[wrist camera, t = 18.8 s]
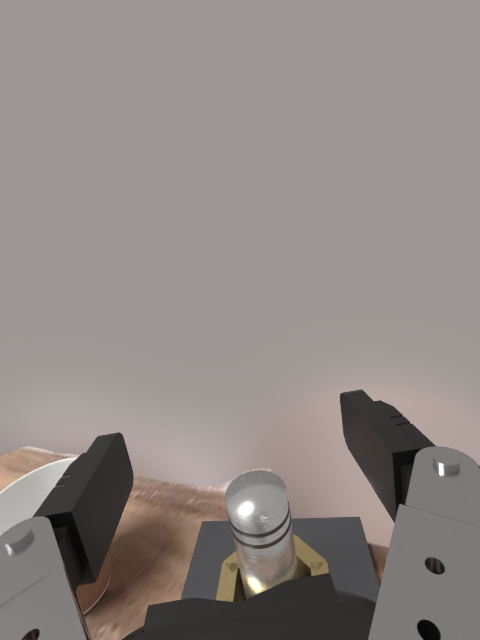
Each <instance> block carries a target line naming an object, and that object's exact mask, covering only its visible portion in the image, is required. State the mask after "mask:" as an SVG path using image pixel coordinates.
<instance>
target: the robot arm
mask: <svg viewBox="0 0 480 640" xmlns="http://www.w3.org/2000/svg"><path fill="white" fill-rule="evenodd" d="M340 404H341V413H342V424H343V433H344V437H345V441H346V444H347V446H348V449H349V450H350V452H351V454H352V455H353V457H354V458H355V460H356V462H357V463H358V465H359V467H360V468H361V470H362V471H363V473H364V475H365V476H366V477H367V479H368V481H369V483H370V484H371V486H372V487H373V489H374V491H375V492H376V494H377V495H378V497H379V499H380V500H381V502H382V504H383V505H384V507H385V508H386V510H387V512H388V513H389V515H390V516H391V518H392V520H393V521H394V523H395V525H394V529H393V533H392V538H391V542H390V546H389V551H388V555H387V559H386V564H385V568H384V572H383V577H382V581H381V586H380V590H379V594H378V599H377V603H376V602H374V601H372V600H370V599H368V598H365V597H363V596H360V595H357V594H354V593H350V592H346V591H339V590H335V587H334V583H333V580H332V577H331V574H330V573H326V574H320V575H315V576H309V577H303V578H298V579H292V580H287V581H284V582H282V583H280V584H278V585H276V586H274V587H272V588H269V589H267V590H265V591H263V592H261V593H259V594H257V595H255V596H253V597H251V598H249V599H247V600H245V601H242V602H229V601H220V600H211V599H202V598H188V599H182V600H176V601H171V602H165V603H160V604H154V605H149V606H148V609H147V614H146V619H145V623H144V626H142V627H140V628H139V629H137V630H135V631H134V632H132V633H130V634H129V635H127V636H126V637H125V638H123V639H122V640H480V466H478V464H477V463H476V462H475V461H474V460H473V459H472V458H471V457H469V456H468V455H466V454H464V453H463V452H460V451H458V450H455V449H451V448H447V447H438V446H435V445H434V444H433V443H432V442H431V441H430V440H429V439H428V438H427V437H426V436H425V435H423V434H422V433H421V432H420V431H419V430H418V429H417V428H416V427H415V426H414V425H413V424H410V422H409V421H408V420H407V419H406V418H405V417H403V416H402V414H401V413H400V412H399V411H398V410H397V409H395V407H393V406H391V405H389V404H387V403H385V402H382V401H373V400H372V399H371V398H370V397H369V396H368V395H367V394H366V393H365V392H364V391H363V390H356V391H350V392H344V393H341V394H340ZM132 486H133V470H132V466H131V463H130V459H129V455H128V452H127V448H126V445H125V441H124V438H123V435H122V434H121V433H113V434H108V435H102V436H98V437H97V438H96V439H95V441H94V442H93V443H92V445H91V447H90V448H89V450H88V451H87V452H86V453H83V454H82V455H80V456H79V457H78V458H77V459H76V460H74V461H73V462H72V463H71V464H70V465H69V467H68V468H67V469H66V471H65V472H64V473H63V475H62V478H60V479H59V480H58V482H57V483H56V485H55V487H54V488H53V489H52V490H51V492H50V493H49V494H48V496H47V497H46V499H45V500H44V501H43V503H42V504H41V506H40V507H39V508H38V510H37V511H36V513H35V514H34V515H33V517H32V518H29V519H26V520H24V521H22V522H20V523H18V524H16V525H14V526H13V527H11V528H10V529H8V530H7V531H5V532H4V533H3V534H2V535H1V536H0V640H91V637H90V633H89V630H88V627H87V624H86V621H85V618H84V615H83V612H82V609H81V606H80V603H79V600H78V597H77V594H76V590H77V588H78V586H80V585H85V584H91V583H96V581H97V578H98V576H99V573H100V570H101V568H102V565H103V563H104V560H105V557H106V555H107V552H108V550H109V547H110V544H111V542H112V539H113V537H114V534H115V531H116V529H117V526H118V524H119V521H120V518H121V516H122V513H123V511H124V508H125V505H126V503H127V500H128V498H129V495H130V492H131V490H132Z"/></svg>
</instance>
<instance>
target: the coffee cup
mask: <svg viewBox="0 0 480 640" xmlns="http://www.w3.org/2000/svg"><path fill="white" fill-rule="evenodd" d="M77 458H78V457H75V458H68V459H63V460H59V461H56V462H53V463H50V464H47V465H45V466H42V467H40V468H38V469H36V470H34V471H32V472H30V473H28V474H26V475H24V476H23V477H21V478H19V479H18V480H16V481H15V482H13V483H12V484H10V485H9V486H7V487H6V488H5V489H4V490H2V491H1V492H0V536H1V535H2V534H3V533H4V532H5V531H7V530H8V529H10V528H11V527H13V526H14V525H16V524H18V523H20V522H22V521H24V520H26V519H29V518H32V517H33V515H34V514H35V513H36V511H37V510H38V508H39V507H40V506H41V504H42V503H43V501H44V500H45V499H46V497H47V496H48V494H49V493H50V492H51V490H52V489H53V488H54V487H55V485H56V483H57V482H58V480H59V479H60V478H62V475H63V473H64V472H65V471H66V469H67V468H68V467H69V465H70V464H71V463H72V462H73V461H74V460H76V459H77ZM111 562H112V560H111V553H110V547H109V550H108V552H107V555H106V557H105V560H104V563H103V565H102V568H101V570H100V573H99V576H98V578H97V581H96V583H91V584H85V585H80V586H78V588H77V590H76V594H77V597H78V600H79V603H80V606H81V609H82V612H83V615H84V614H86V613H87V612H88V611H89V610H90V609H91V608H92V607H93V606H94V605H95V604H96V603H97V602H98V601H99V600H100V598H101V597H102V596H103V594H104V593H105V591H106V589H107V587H108V585H109V583H110V579H111V573H112V568H111Z"/></svg>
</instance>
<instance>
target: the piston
mask: <svg viewBox="0 0 480 640" xmlns="http://www.w3.org/2000/svg"><path fill="white" fill-rule="evenodd" d="M225 500H226V505H227V509H228V518H229V522H230V527H231V532H232V534H233V539H234V543H235V548H236V553H237V558H238V563H239V568H240V572H241V577H242V582H243V587H244V592H245V597H246V600H247V599H249V598H251V597H253V596H255V595H257V594H259V593H261V592H263V591H265V590H267V589H269V588H272V587H274V586H276V585H278V584H280V583H282V582H284V581H287V580H292V579H298V578H300V577H299V570H298V564H297V557H296V551H295V545H294V538H293V532H292V525H291V515H290V509H289V502H288V499H287V493H286V487H285V484H284V482H283V481H282V479H281V478H280V477H279V476H277V475H276V474H274V473H272V472H268V471H262V470H257V471H250V472H247V473H244V474H242V475H240V476H238V477H237V478H236V479H234V480H233V481H232V482H231V483H230V485H229V486H228V488H227V490H226V494H225Z"/></svg>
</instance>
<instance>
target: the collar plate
mask: <svg viewBox="0 0 480 640" xmlns="http://www.w3.org/2000/svg"><path fill="white" fill-rule="evenodd" d="M291 525H292V532H293V538H294V545H295V551H296V557H297V564H298V570H299V577H300V578H303V577H309V576H315V575H320V574H326V573H330V574H331V577H332V580H333V583H334V587H335V590H339V591H346V592H350V593H354V594H357V595H360V596H363V597H365V598H368V599H370V600H372V601H374V602H376V603H377V599H378V594H379V590H380V587H379V583H378V580H377V576H376V573H375V569H374V566H373V562H372V559H371V555H370V552H369V548H368V544H367V541H366V538H365V534H364V530H363V527H362V523H361V520H360V517H340V518H307V519H291ZM188 598H202V599H211V600H220V601H229V602H242V601H245V600H246V597H245V592H244V587H243V582H242V577H241V572H240V568H239V563H238V558H237V553H236V548H235V543H234V539H233V534H232V532H231V527H230V522H229V521H204V522H202V525H201V528H200V532H199V536H198V539H197V543H196V546H195V550H194V554H193V557H192V561H191V564H190V568H189V572H188V575H187V579H186V582H185V586H184V590H183V593H182V597H181V600H182V599H188Z"/></svg>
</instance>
